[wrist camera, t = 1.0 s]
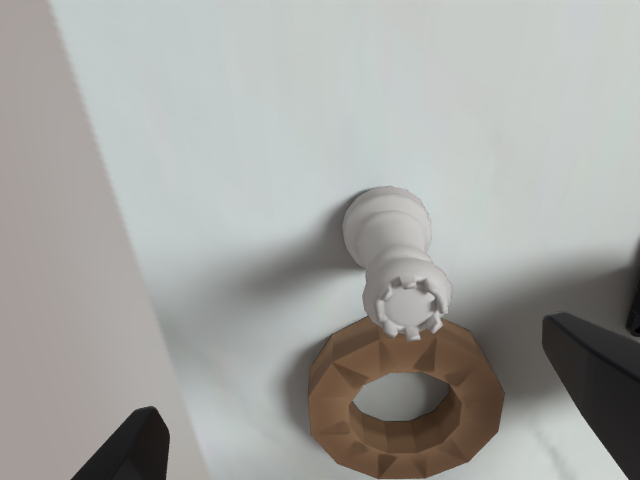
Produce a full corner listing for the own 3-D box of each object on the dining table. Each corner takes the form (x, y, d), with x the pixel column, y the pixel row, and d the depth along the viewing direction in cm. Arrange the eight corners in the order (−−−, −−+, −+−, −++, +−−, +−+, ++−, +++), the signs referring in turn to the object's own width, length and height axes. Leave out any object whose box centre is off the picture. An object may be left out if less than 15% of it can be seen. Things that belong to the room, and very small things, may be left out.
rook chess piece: (378, 276, 23) (401, 382, 16) (324, 221, 22) (320, 308, 14) (445, 226, 22) (502, 316, 14) (390, 164, 20) (424, 228, 13)
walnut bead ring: (498, 308, 24) (515, 335, 21) (477, 444, 28) (490, 477, 26) (305, 314, 24) (302, 340, 22) (316, 447, 29) (314, 479, 26)
